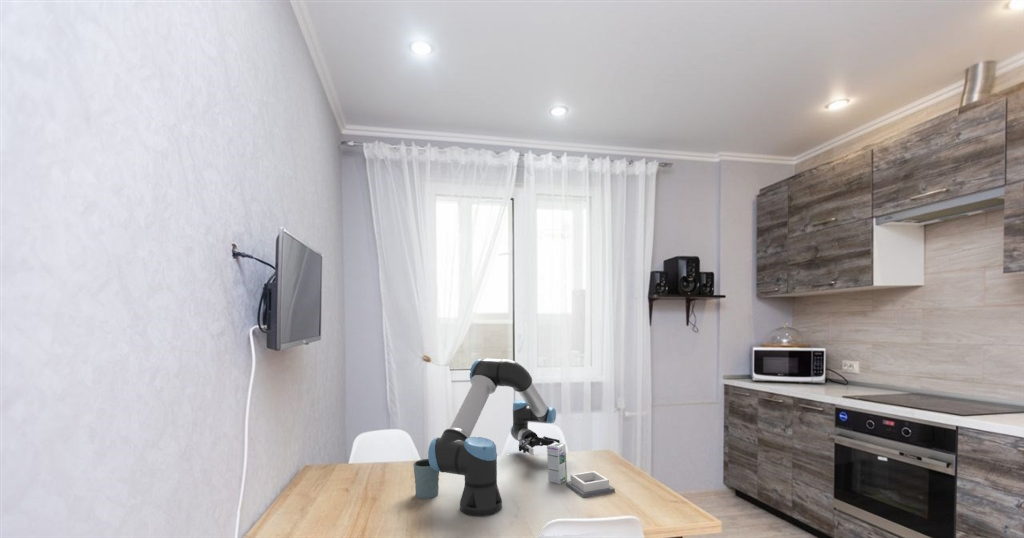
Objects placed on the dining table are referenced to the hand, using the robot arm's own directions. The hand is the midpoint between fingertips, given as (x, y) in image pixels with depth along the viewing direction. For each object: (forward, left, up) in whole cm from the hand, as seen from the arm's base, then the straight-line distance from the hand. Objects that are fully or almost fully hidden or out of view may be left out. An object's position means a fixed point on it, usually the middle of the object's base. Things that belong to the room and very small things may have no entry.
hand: (546, 450), depth 196 cm
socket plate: (+8, -22, -10) cm, 26 cm away
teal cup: (-53, -3, -10) cm, 54 cm away
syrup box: (0, -10, -10) cm, 14 cm away
